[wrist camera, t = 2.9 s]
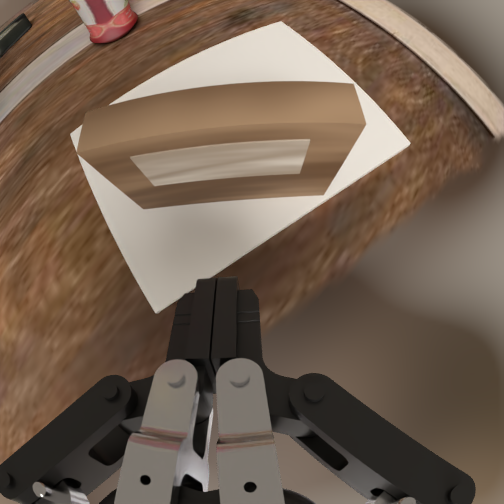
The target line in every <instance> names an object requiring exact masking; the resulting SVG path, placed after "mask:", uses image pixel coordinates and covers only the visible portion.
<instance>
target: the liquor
mask: <svg viewBox="0 0 504 504" xmlns="http://www.w3.org/2000/svg"><path fill="white" fill-rule="evenodd" d="M70 2H71V3H72V5H73V6H74V8H75V10H76V11H77V13H78V14H79V16H80V17H81V19H82V21H83V22H84V24H85V26H86V27H87V29H88V30H89V32H90V41H91V42H93V43H110V42H114V41H116V40H118V39H120V38H122V37H123V36H125V35H126V34H127V33H128V32H129V31H130V30H131V28H132V27H133V25H134V24H135V22H136V21H137V19H138V15H137V14H136V13H135V12H133V11H132V10H131V7H130V5H129V2H128V0H70Z"/></svg>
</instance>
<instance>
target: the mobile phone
mask: <svg viewBox="0 0 504 504" xmlns="http://www.w3.org/2000/svg"><path fill="white" fill-rule="evenodd" d="M31 26H32V24H31V23H30V21H29V20H28V18H27V17H26V16H25V14H24V13H23V14H21V15H20V16H18V17H17V18H16V19H15V20H14V21H12V22H11V23H10V24H9V25H8V26H7V27H5V28H4V29H3V30H2V31H1V32H0V58H1V57H2V56H3V55H4V53H5V52H6V51H7V50H8V49H9V48H10V47H11V46H13V45H14V44H15V43H16V42H17V41H18V40H19V39H20V38H21V37H22V36H23V35H24V34H25V33H26V32H27V31H28V30H29V29H30V28H31Z"/></svg>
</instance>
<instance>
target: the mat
mask: <svg viewBox="0 0 504 504" xmlns="http://www.w3.org/2000/svg"><path fill="white" fill-rule="evenodd" d="M270 81H317V82H338V83H352V84H354V86H355V89H356V92H357V95H358V98H359V101H360V104H361V108H362V111H363V114H364V117H365V121H366V126H365V128H364V129H363V131H362V133H361V135H360V136H359V138H358V140H357V141H356V143H355V145H354V146H353V148H352V150H351V151H350V153H349V155H348V156H347V158H346V160H345V161H344V163H343V165H342V166H341V168H340V169H339V171H338V173H337V174H336V176H335V178H334V179H333V181H332V183H331V184H330V186H329V187H328V189H327V191H326V192H325V194H324V195H320V196H297V197H279V198H263V199H248V200H235V201H222V202H211V203H200V204H189V205H180V206H170V207H161V208H152V209H142V208H141V207H140V206H139V205H137V204H136V203H135V202H134V201H133V200H131V199H130V198H129V197H128V196H126V195H125V194H124V193H123V192H122V191H120V190H119V189H118V188H117V187H116V186H114V185H113V184H112V183H111V182H110V181H109V180H107V179H106V178H105V177H104V176H103V175H101V174H100V173H99V172H98V171H97V170H96V169H94V168H93V167H92V166H91V165H90V164H88V163H87V162H86V161H85V160H84V159H83V158H82V157H80V156H79V155H78V157H79V160H80V162H81V165H82V167H83V170H84V172H85V175H86V177H87V180H88V182H89V184H90V187H91V189H92V191H93V194H94V196H95V198H96V201H97V203H98V205H99V207H100V209H101V212H102V214H103V216H104V218H105V220H106V222H107V224H108V227H109V229H110V231H111V233H112V235H113V237H114V239H115V241H116V243H117V245H118V247H119V249H120V251H121V253H122V255H123V257H124V258H125V260H126V262H127V264H128V266H129V268H130V270H131V272H132V273H133V275H134V277H135V279H136V281H137V282H138V284H139V286H140V288H141V290H142V291H143V293H144V295H145V297H146V298H147V300H148V302H149V303H150V305H151V307H152V308H153V310H154V312H155V313H159V312H160V311H162V310H163V309H165V308H166V307H168V306H169V305H171V304H172V303H174V302H175V301H177V300H178V299H180V298H181V297H182V296H183V295H184V293H189V292H190V291H192V290H193V289H195V288H196V282H197V279H205V278H211V277H213V276H214V275H216V274H217V273H219V272H220V271H222V270H223V269H225V268H226V267H228V266H229V265H231V264H232V263H234V262H235V261H237V260H238V259H240V258H241V257H243V256H244V255H246V254H247V253H249V252H250V251H252V250H253V249H255V248H256V247H258V246H259V245H261V244H262V243H264V242H265V241H267V240H268V239H270V238H271V237H273V236H274V235H276V234H277V233H279V232H280V231H282V230H283V229H285V228H286V227H288V226H289V225H291V224H292V223H294V222H295V221H297V220H298V219H300V218H301V217H303V216H304V215H306V214H307V213H309V212H310V211H312V210H313V209H315V208H316V207H318V206H319V205H321V204H322V203H324V202H325V201H327V200H328V199H330V198H331V197H333V196H334V195H336V194H337V193H339V192H340V191H342V190H343V189H345V188H346V187H348V186H349V185H351V184H352V183H354V182H355V181H357V180H358V179H360V178H361V177H363V176H364V175H366V174H367V173H369V172H370V171H372V170H373V169H375V168H376V167H378V166H379V165H381V164H382V163H384V162H385V161H387V160H388V159H390V158H391V157H393V156H394V155H396V154H397V153H399V152H400V151H402V150H404V149H405V148H407V147H408V146H409V145H410V144H411V143H410V142H409V141H408V140H407V138H406V137H405V136H404V135H403V134H402V132H401V131H400V130H399V129H398V128H397V126H396V125H395V124H394V123H393V122H392V121H391V120H390V118H389V117H388V116H387V115H386V114H385V113H384V112H383V111H382V110H381V109H380V107H379V106H378V105H377V104H376V103H375V102H374V101H373V100H372V99H371V98H370V97H369V96H368V95H367V94H366V93H365V92H364V91H363V90H362V89H361V88H360V87H359V86H358V85H357V84H356V83H355V82H354V81H353V80H352V79H351V78H350V77H349V76H348V75H347V74H345V73H344V72H343V71H342V70H341V69H340V68H339V67H338V66H337V65H336V64H334V63H333V62H332V61H331V60H330V59H329V58H327V57H326V56H325V55H324V54H323V53H322V52H320V51H319V50H318V49H317V48H316V47H314V46H313V45H312V44H311V43H309V42H308V41H307V40H305V39H304V38H303V37H302V36H300V35H299V34H298V33H296V32H295V31H294V30H292V29H291V28H290V27H288V26H287V25H285V24H284V23H283V22H281V21H280V22H277V23H274V24H271V25H268V26H265V27H262V28H259V29H256V30H253V31H250V32H248V33H245V34H242V35H240V36H237V37H235V38H232V39H230V40H227V41H225V42H222V43H220V44H218V45H215V46H213V47H211V48H209V49H206V50H204V51H202V52H200V53H198V54H196V55H194V56H192V57H190V58H187V59H185V60H184V61H182V62H180V63H178V64H176V65H174V66H172V67H170V68H168V69H166V70H165V71H163V72H161V73H159V74H157V75H156V76H154V77H152V78H150V79H149V80H147V81H145V82H144V83H142V84H140V85H139V86H137V87H135V88H134V89H132V90H131V91H129V92H128V93H126V94H124V95H123V96H121V97H120V98H118V99H117V100H115V101H114V102H113V103H111V104H110V105H112V104H116V103H119V102H123V101H128V100H132V99H136V98H141V97H145V96H150V95H155V94H160V93H166V92H172V91H178V90H184V89H191V88H198V87H206V86H214V85H224V84H235V83H249V82H270ZM81 128H82V125H81V126H80V127H79V128H77V129H76V130H75V131H74V132H72V133H71V134H70V135H71V138H72V141H73V144H74V146H75V149H76V152H77V147H78V142H79V137H80V133H81Z"/></svg>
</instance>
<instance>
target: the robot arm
mask: <svg viewBox="0 0 504 504" xmlns="http://www.w3.org/2000/svg"><path fill="white" fill-rule="evenodd" d="M213 394H217V412H218V429H219V439H218V441H217V449H216V450H217V467H218V481H219V489H218V490H213V491H208V482H209V466H208V450H209V443H210V434H211V427H212V419H213V408H212V404H213ZM272 431H273V432H277V433H282V434H287V435H289V436H290V437H291V438H292V439H293V440H294V441H296V442H297V443H298V444H299V445H300V446H301V447H302V448H304V449H305V450H306V451H307V452H308V453H309V454H310V455H312V456H313V457H314V458H315V459H317V460H318V461H319V462H320V463H321V464H322V465H324V466H325V467H326V468H328V469H329V470H330V471H331V472H332V473H334V474H335V475H336V476H337V477H339V478H340V479H341V480H342V481H344V482H345V483H346V484H348V485H349V486H350V487H352V488H353V489H355V490H356V491H357V492H358V493H360V494H361V495H363V496H364V497H365V498H367V499H368V501H367V502H366V504H471V503H472V501H473V499H474V496H475V483H474V481H473V479H472V478H471V477H470V476H469V475H467V474H466V473H464V472H463V471H461V470H459V469H458V468H456V467H455V466H453V465H451V464H450V463H448V462H447V461H445V460H444V459H442V458H440V457H439V456H438V455H436V454H434V453H433V452H432V451H430V450H428V449H427V448H426V447H424V446H422V445H421V444H420V443H418V442H417V441H415V440H413V439H412V438H411V437H409V436H408V435H406V434H405V433H403V432H402V431H401V430H399V429H398V428H396V427H395V426H394V425H392V424H391V423H389V422H388V421H386V420H385V419H384V418H382V417H381V416H380V415H378V414H377V413H376V412H374V411H373V410H371V409H370V408H369V407H367V406H366V405H364V404H363V403H362V402H361V401H359V400H358V399H356V398H355V397H354V396H352V395H351V394H350V393H348V392H347V391H346V390H345V389H343V388H342V387H341V386H339V385H338V384H336V383H335V382H334V381H333V380H331V379H330V378H329V377H327V376H325V375H322V374H317V373H310V374H306V375H303V376H301V377H299V378H298V379H294V378H289V377H284V376H280V375H277V374H275V373H273V372H272V371H270V370H269V369H268V368H267V367H266V366H265V364H264V362H263V358H262V345H261V329H260V315H259V300H258V298H257V296H256V295H255V293H254V292H253V290H252V289H250V290H239V283H238V277H237V276H236V277H220V278H218V279H217V278H205V279H197V282H196V288H195V293H184V295H183V296H182V298H181V299H180V300H179V302H178V303H177V307H176V312H175V317H174V321H173V326H172V331H171V336H170V342H169V347H168V352H167V358H166V361H165V363H164V364H162V365H161V366H160V367H159V368H158V369H157V371H156V372H155V375H153V376H151V377H149V378H145V379H141V380H137V381H133V382H128V381H127V380H126V379H125V378H123V377H122V376H119V375H110V376H106V377H104V378H103V379H101V380H100V381H99V382H97V383H96V384H95V385H94V386H93V387H92V388H90V389H89V390H88V391H87V392H86V393H84V394H83V395H82V396H81V397H80V398H79V399H77V400H76V401H75V402H74V403H73V404H72V405H70V406H69V407H68V408H67V409H66V410H64V411H63V412H62V413H61V414H60V415H59V416H57V417H56V418H55V419H54V420H53V421H51V422H50V423H49V424H48V425H47V426H46V427H44V428H43V429H42V430H41V431H40V432H39V433H37V434H36V435H35V436H34V437H33V438H31V439H30V440H29V441H28V442H27V443H26V444H24V445H23V446H22V447H21V448H20V449H18V450H17V451H16V452H15V453H14V454H13V455H11V456H10V457H9V458H8V459H7V460H5V461H4V462H3V463H2V464H1V465H0V493H1V494H2V495H3V496H4V497H6V498H8V499H10V500H13V501H16V502H18V503H20V504H90V503H89V501H88V500H87V498H86V496H87V495H88V494H90V493H91V492H92V491H93V490H94V489H96V488H97V487H98V486H99V485H100V484H102V483H103V482H104V481H105V480H106V479H108V478H109V477H110V476H111V475H112V474H113V473H114V472H116V471H117V470H118V469H119V468H120V467H121V466H122V468H121V472H120V477H119V481H118V486H117V489H115V490H114V491H112V492H111V493H110V494H109V495H108V496H107V497H105V498H104V499H103V500H102V501H101V502H100V503H99V504H315V503H314V502H313V501H311V500H310V499H309V498H307V497H305V496H303V495H301V494H299V493H296V492H294V491H291V490H287V489H283V488H282V483H281V477H280V472H279V465H278V459H277V453H276V447H275V441H274V437H273V434H272ZM207 491H208V492H207Z"/></svg>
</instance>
